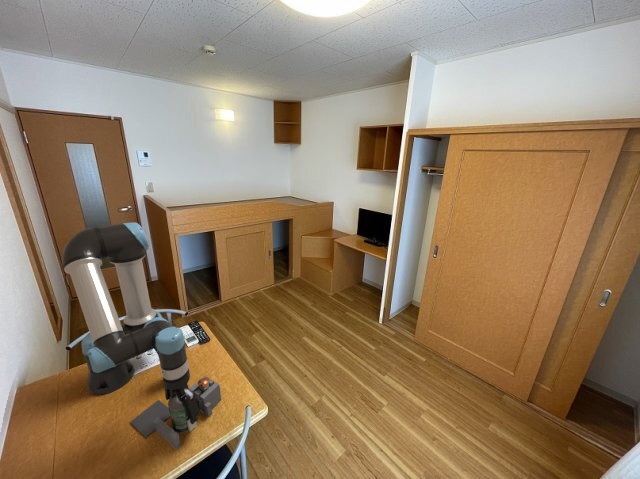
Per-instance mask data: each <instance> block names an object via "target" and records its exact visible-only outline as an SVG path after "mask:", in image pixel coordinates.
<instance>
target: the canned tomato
mask: <svg viewBox="0 0 640 479" xmlns="http://www.w3.org/2000/svg"><path fill="white" fill-rule="evenodd" d="M189 391H190V392H192V391H191V390H189ZM181 398H182V397H181ZM167 407H168V408H169V412H170V417H171V418H170V421H171V426H172V429H173V430H174V431H175V432H176V433H177V434H184V433H187V432H190V431H189V430H188V424H187V420H186V417H187V414H186V411H185V407H183V404H182V402H180V401H179V400H178V397H177V395H176V396H174V397H173V398H172V397H171V398H170V399H168V401H167ZM196 422H197V423H198V416H197V417H196Z"/></svg>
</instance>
